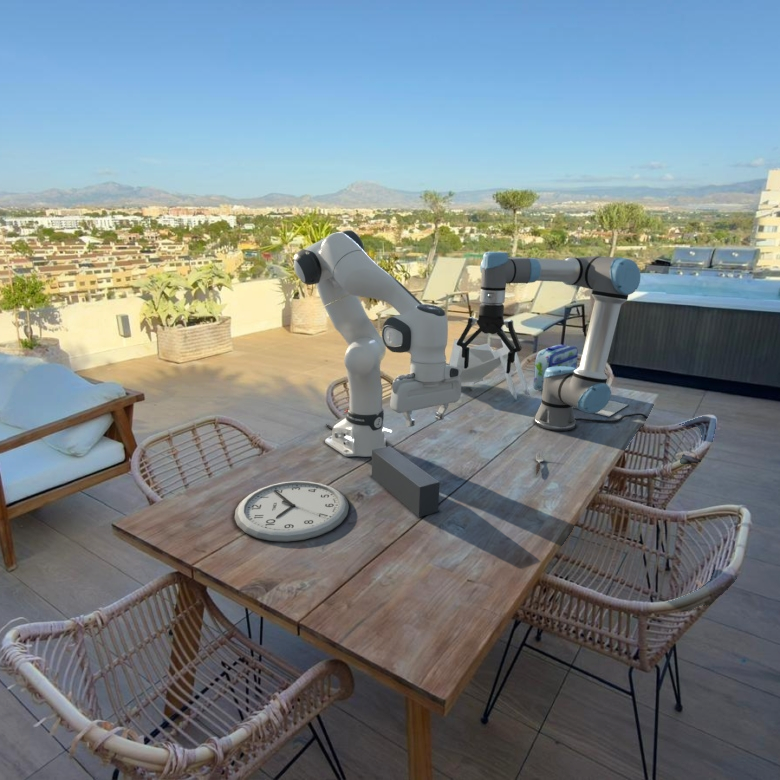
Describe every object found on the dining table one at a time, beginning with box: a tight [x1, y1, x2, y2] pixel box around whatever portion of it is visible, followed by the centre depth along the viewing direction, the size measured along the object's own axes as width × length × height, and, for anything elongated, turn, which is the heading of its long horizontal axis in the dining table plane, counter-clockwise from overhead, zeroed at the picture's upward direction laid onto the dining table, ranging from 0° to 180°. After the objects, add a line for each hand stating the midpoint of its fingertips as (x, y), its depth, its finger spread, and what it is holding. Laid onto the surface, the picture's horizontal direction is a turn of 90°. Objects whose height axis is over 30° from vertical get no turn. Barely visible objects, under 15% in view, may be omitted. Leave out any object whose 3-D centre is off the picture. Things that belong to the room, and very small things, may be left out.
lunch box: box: [533, 344, 579, 392], centre depth 247 cm, size 26×11×21 cm, turn 134°
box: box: [371, 445, 441, 518], centre depth 149 cm, size 27×6×9 cm, turn 30°
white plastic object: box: [448, 326, 531, 400], centre depth 245 cm, size 37×45×31 cm
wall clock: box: [234, 480, 350, 543], centre depth 140 cm, size 30×2×30 cm
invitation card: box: [573, 400, 629, 418], centre depth 226 cm, size 21×1×15 cm
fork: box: [535, 451, 546, 476], centre depth 168 cm, size 3×16×2 cm, turn 160°
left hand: (425, 422), depth 135 cm, fingers open, 8 cm apart
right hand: (486, 370), depth 168 cm, fingers open, 13 cm apart
